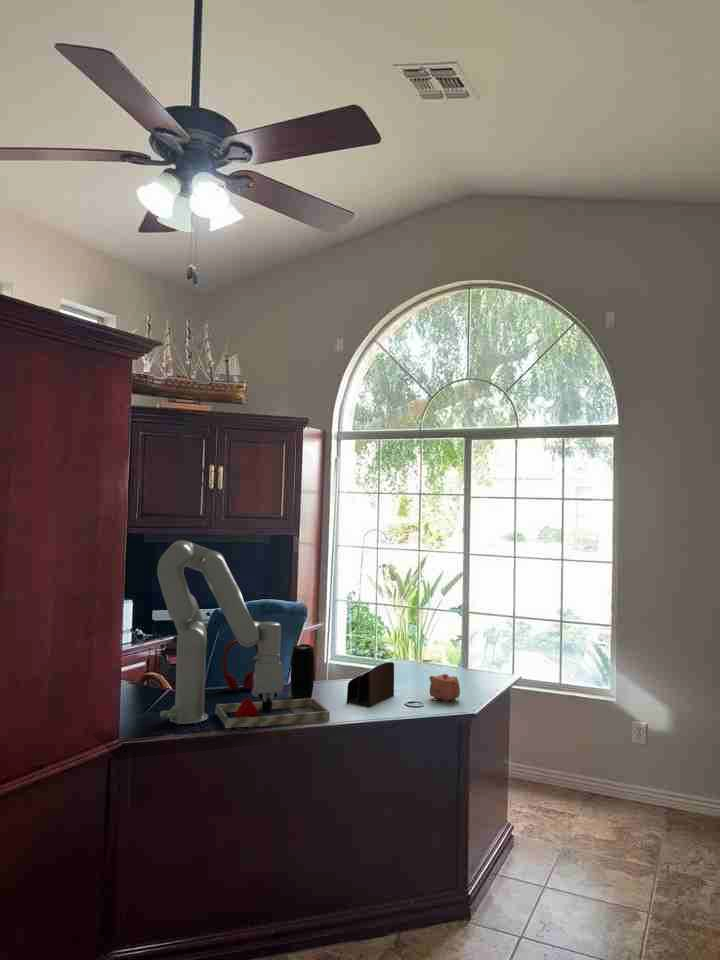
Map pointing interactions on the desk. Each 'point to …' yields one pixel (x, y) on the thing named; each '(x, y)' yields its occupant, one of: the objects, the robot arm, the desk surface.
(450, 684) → the teapot
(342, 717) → the desk surface
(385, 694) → the letter holder
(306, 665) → the portable speaker
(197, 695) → the robot arm
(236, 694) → the desk surface
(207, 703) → the desk surface
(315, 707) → the shallow open box tray
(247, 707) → the gemstone
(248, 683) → the headphones
